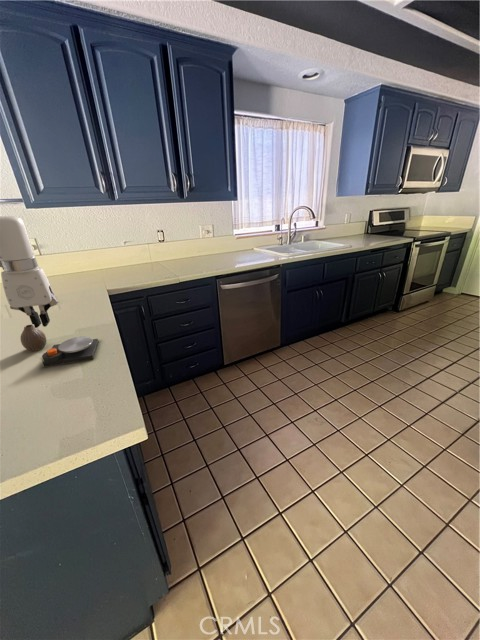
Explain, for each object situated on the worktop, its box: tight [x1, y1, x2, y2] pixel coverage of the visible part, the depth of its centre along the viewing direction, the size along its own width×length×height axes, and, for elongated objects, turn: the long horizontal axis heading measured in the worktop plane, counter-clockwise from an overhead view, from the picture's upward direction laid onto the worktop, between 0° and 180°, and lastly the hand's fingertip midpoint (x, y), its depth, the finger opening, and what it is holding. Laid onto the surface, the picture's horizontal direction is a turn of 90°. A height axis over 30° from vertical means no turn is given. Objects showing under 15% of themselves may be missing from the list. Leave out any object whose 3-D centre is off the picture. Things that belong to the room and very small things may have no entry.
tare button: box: [46, 347, 57, 356], centre depth 84 cm, size 3×3×2 cm
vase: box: [19, 324, 47, 352], centre depth 91 cm, size 7×7×9 cm
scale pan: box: [58, 336, 93, 353], centre depth 89 cm, size 10×10×1 cm
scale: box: [41, 338, 99, 368], centre depth 89 cm, size 14×12×3 cm
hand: (42, 324), depth 80 cm, fingers closed
